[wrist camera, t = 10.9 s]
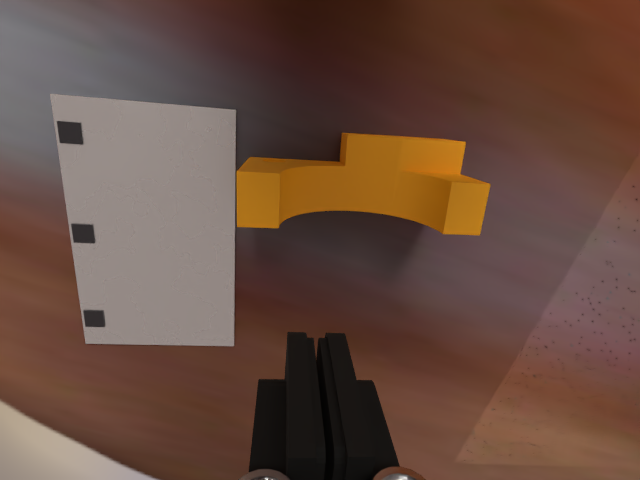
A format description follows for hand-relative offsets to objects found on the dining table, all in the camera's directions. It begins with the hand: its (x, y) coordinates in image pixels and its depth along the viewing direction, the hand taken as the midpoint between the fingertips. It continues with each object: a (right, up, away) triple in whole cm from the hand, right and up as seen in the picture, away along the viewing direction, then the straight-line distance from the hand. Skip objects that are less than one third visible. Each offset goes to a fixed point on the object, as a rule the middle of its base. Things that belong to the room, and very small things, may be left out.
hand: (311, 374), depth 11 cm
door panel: (-10, +4, +12) cm, 17 cm away
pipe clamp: (+2, +9, +12) cm, 15 cm away
